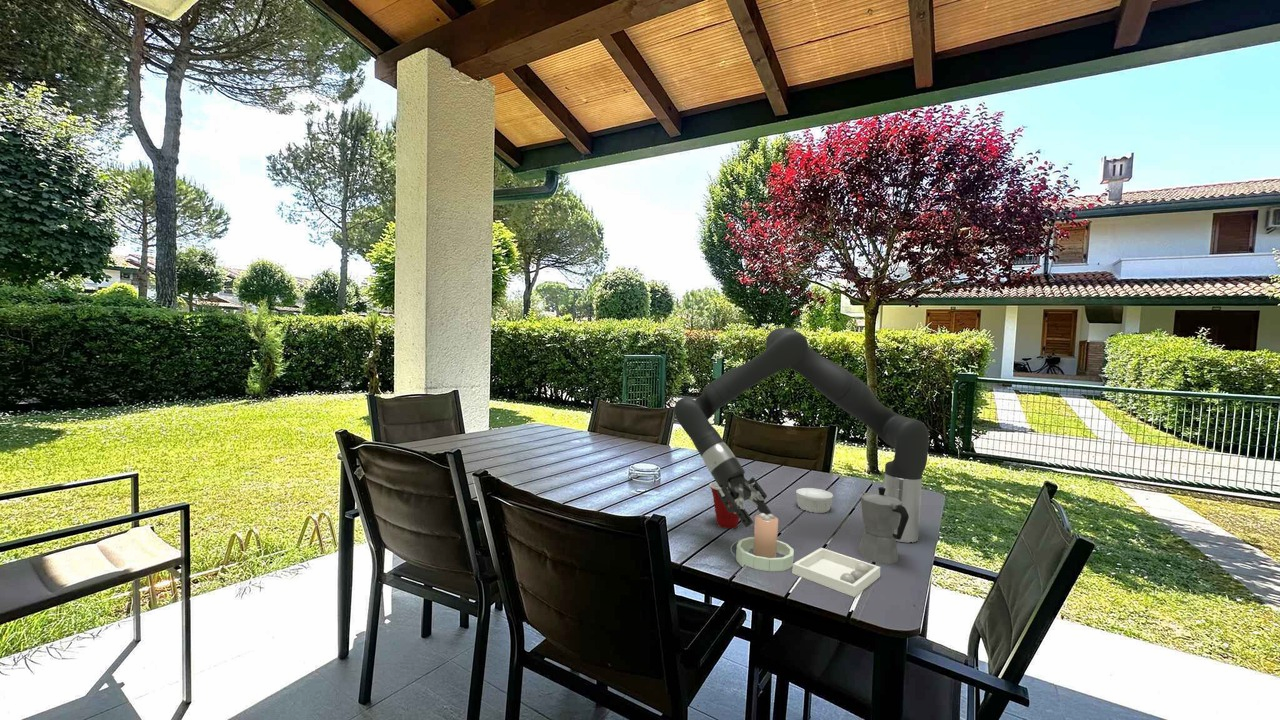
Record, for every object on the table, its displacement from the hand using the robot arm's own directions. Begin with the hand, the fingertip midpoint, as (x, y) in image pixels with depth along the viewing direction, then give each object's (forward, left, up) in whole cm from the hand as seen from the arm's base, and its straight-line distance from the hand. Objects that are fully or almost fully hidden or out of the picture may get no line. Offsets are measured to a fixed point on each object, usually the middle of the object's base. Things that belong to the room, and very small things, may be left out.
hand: (759, 521), depth 125 cm
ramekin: (-47, +12, -10) cm, 50 cm away
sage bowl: (+1, +2, -9) cm, 10 cm away
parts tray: (+3, +18, -9) cm, 20 cm away
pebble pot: (0, +2, -9) cm, 9 cm away
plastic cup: (-20, -11, -10) cm, 25 cm away
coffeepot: (-12, +28, -10) cm, 32 cm away
